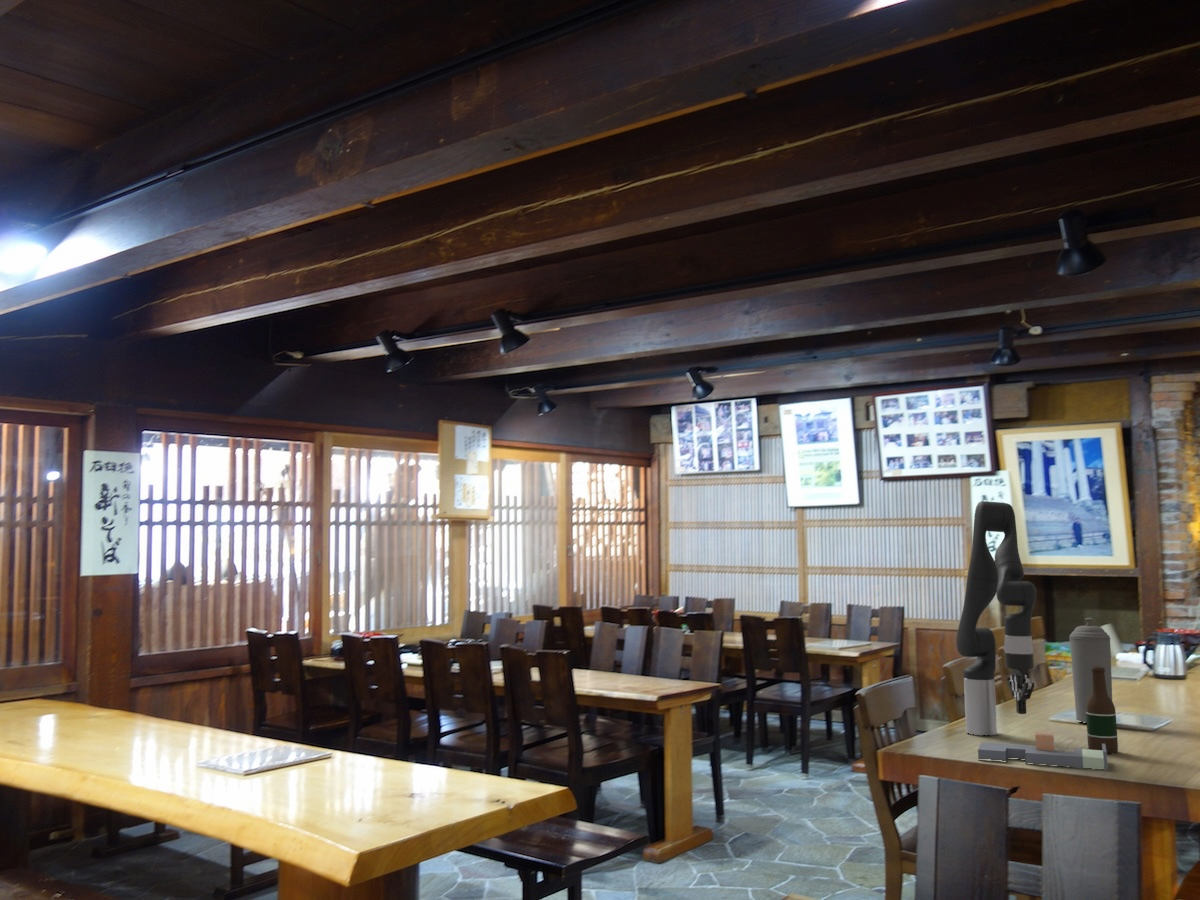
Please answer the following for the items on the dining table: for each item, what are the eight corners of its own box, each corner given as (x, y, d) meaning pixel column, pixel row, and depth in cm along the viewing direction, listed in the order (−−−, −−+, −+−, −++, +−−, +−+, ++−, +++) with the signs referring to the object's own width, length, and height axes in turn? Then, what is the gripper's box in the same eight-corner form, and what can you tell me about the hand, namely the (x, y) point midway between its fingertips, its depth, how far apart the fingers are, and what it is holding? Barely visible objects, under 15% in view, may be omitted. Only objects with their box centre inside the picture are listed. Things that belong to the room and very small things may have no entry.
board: (981, 752, 281) (981, 735, 281) (1106, 761, 267) (1105, 743, 268) (978, 760, 270) (977, 742, 271) (1107, 770, 257) (1106, 751, 257)
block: (1036, 746, 274) (1035, 732, 274) (1054, 748, 272) (1053, 733, 272) (1036, 749, 270) (1035, 734, 270) (1054, 750, 268) (1053, 735, 268)
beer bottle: (1124, 753, 278) (1119, 667, 281) (1099, 754, 277) (1094, 668, 280) (1106, 748, 286) (1101, 665, 289) (1082, 749, 285) (1077, 665, 287)
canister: (1082, 718, 338) (1076, 616, 342) (1122, 723, 329) (1115, 617, 333) (1067, 723, 330) (1061, 618, 334) (1107, 727, 321) (1100, 619, 324)
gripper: (1042, 654, 273) (1045, 717, 271) (1021, 649, 286) (1023, 709, 284) (1016, 654, 273) (1018, 717, 271) (995, 649, 286) (998, 709, 284)
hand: (1021, 713), depth 278 cm, fingers closed
